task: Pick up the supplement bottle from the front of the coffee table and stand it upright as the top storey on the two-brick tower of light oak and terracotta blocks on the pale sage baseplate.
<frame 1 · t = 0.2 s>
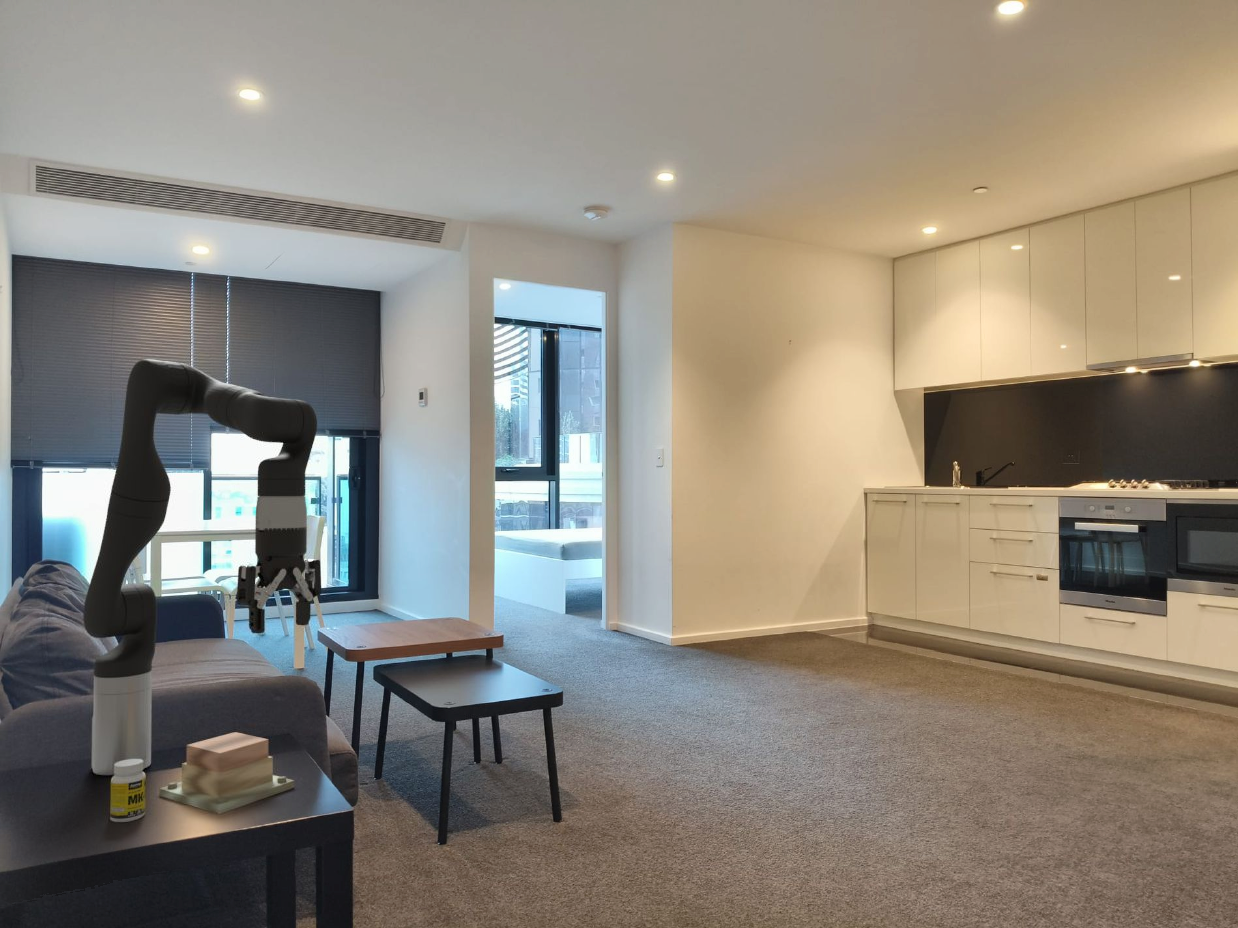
hand: (280, 628, 137), 29 cm above the table, fingers open, 8 cm apart
brick tower: (227, 791, 147), on the table
supplement bottle: (127, 818, 136), on the table
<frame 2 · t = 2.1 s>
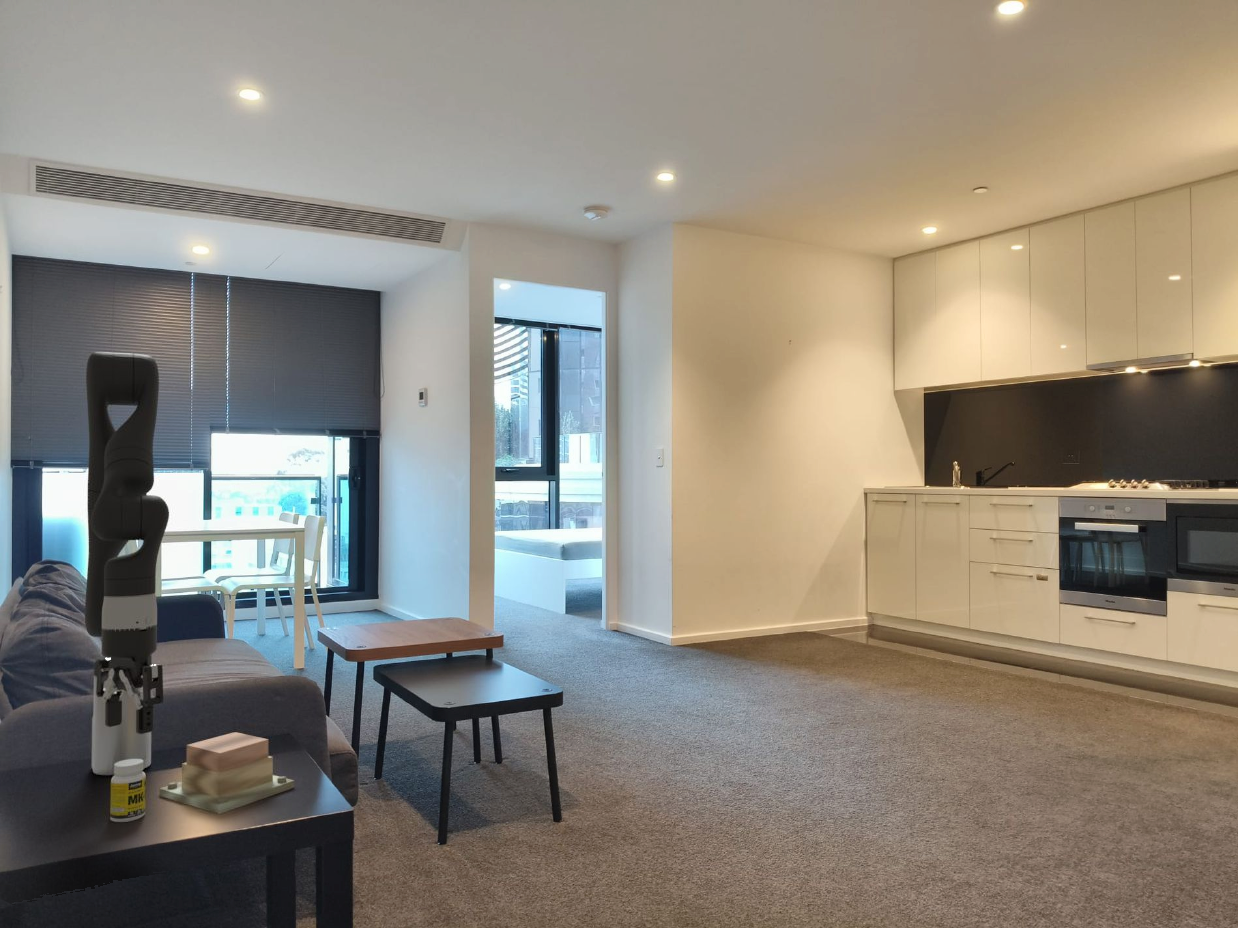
hand: (128, 729, 136), 14 cm above the table, fingers open, 8 cm apart
nothing on the table moved.
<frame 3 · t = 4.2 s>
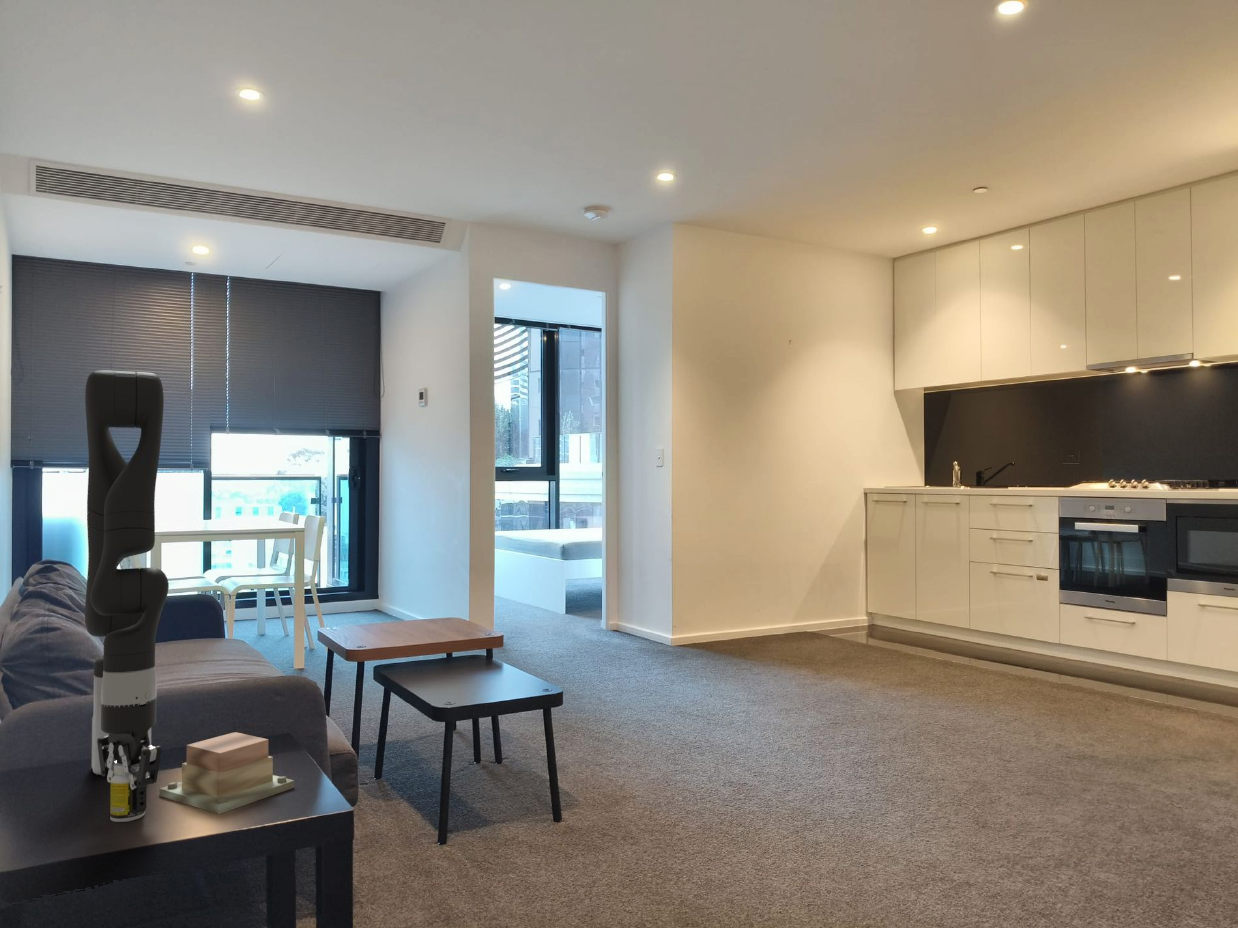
hand: (128, 807, 136), 1 cm above the table, fingers closed on supplement bottle, 4 cm apart
supplement bottle: (127, 818, 136), on the table, touching gripper
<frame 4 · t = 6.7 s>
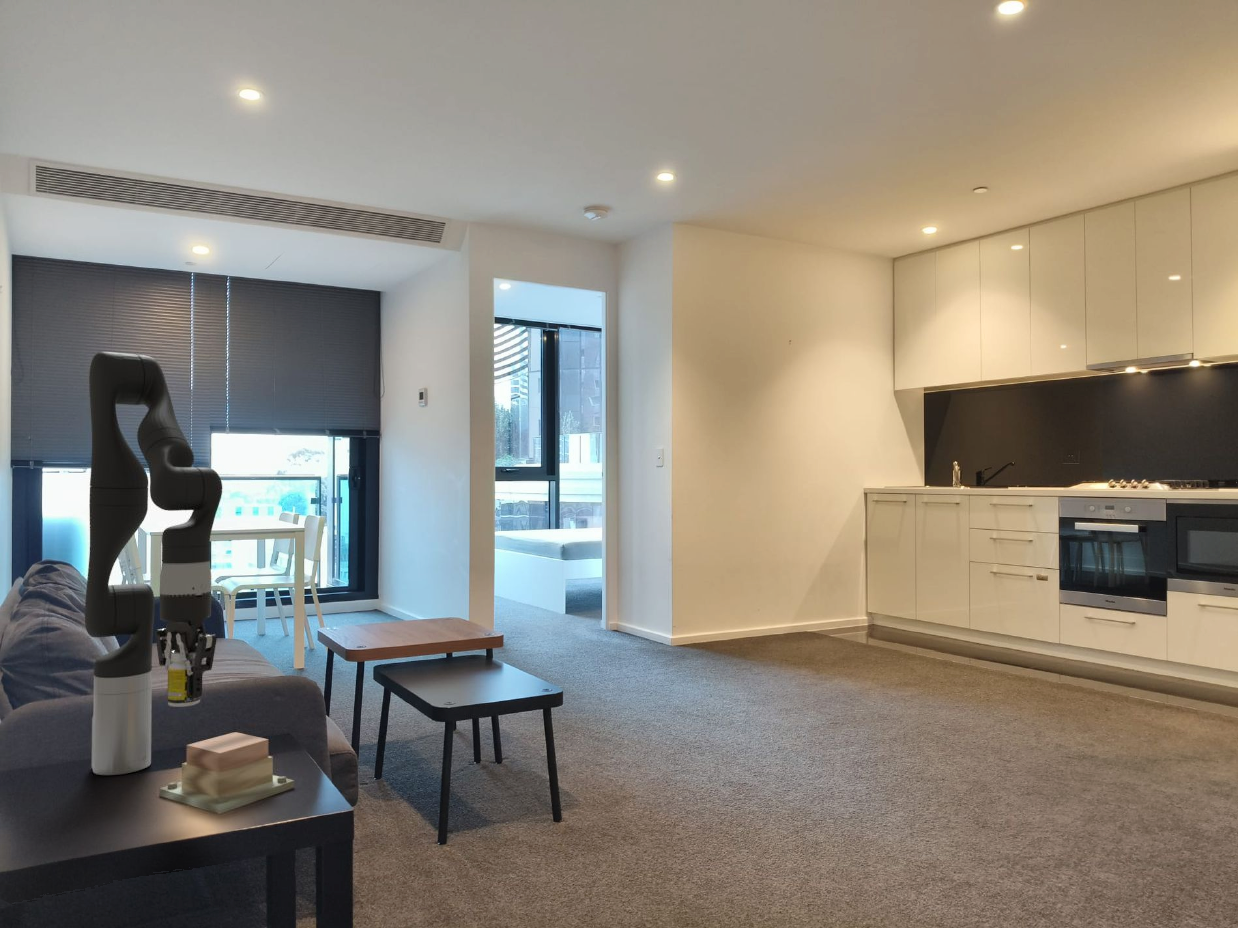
hand: (184, 694, 142), 17 cm above the table, fingers closed on supplement bottle, 4 cm apart
supplement bottle: (184, 704, 142), point 16 cm above the table, touching gripper
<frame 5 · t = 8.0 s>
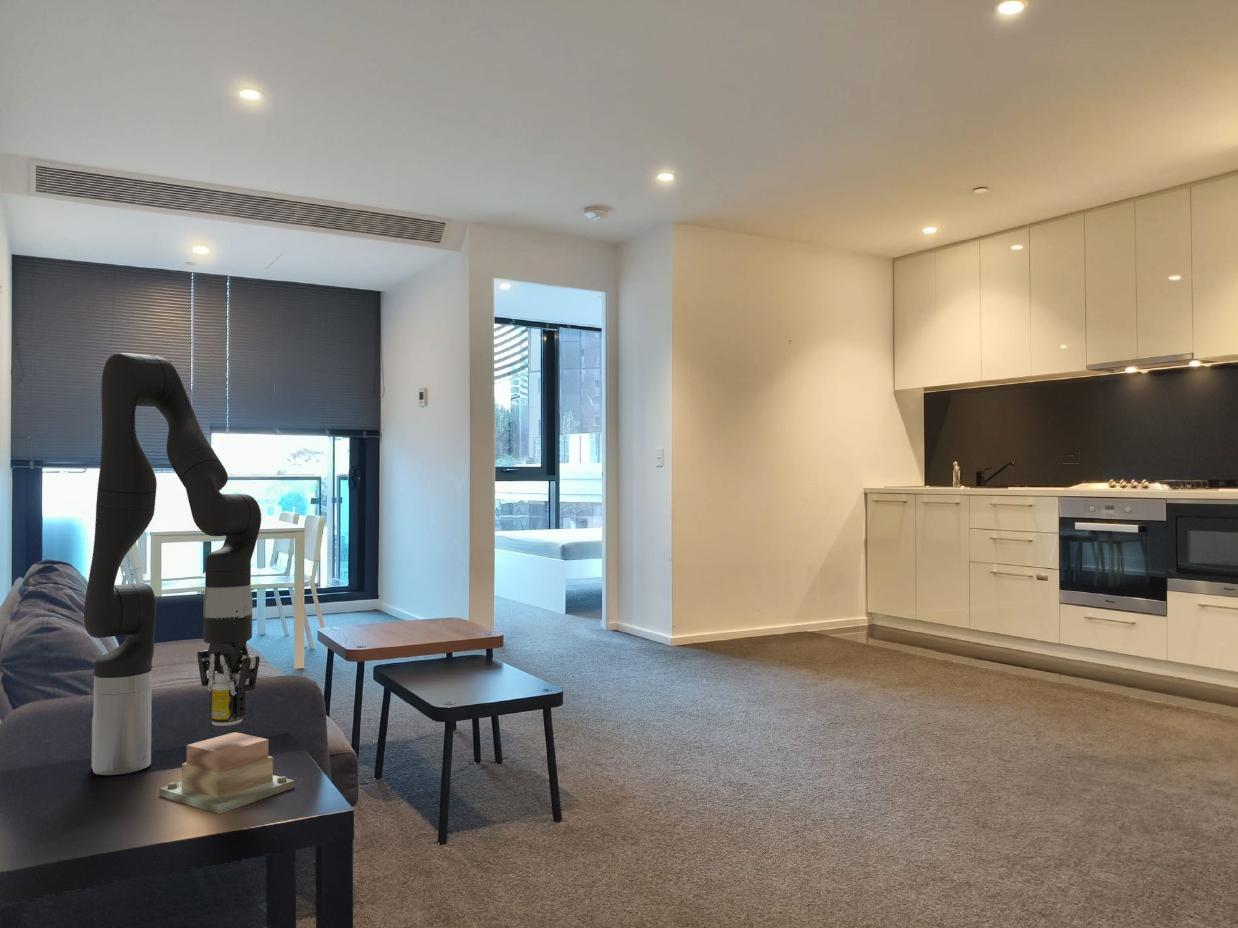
hand: (227, 714, 147), 13 cm above the table, fingers closed on supplement bottle, 4 cm apart
supplement bottle: (227, 723, 147), point 11 cm above the table, touching gripper
when the fingers open (11 cm above the table, at t = 9.2 s): supplement bottle drops 1 cm, resting on brick tower.
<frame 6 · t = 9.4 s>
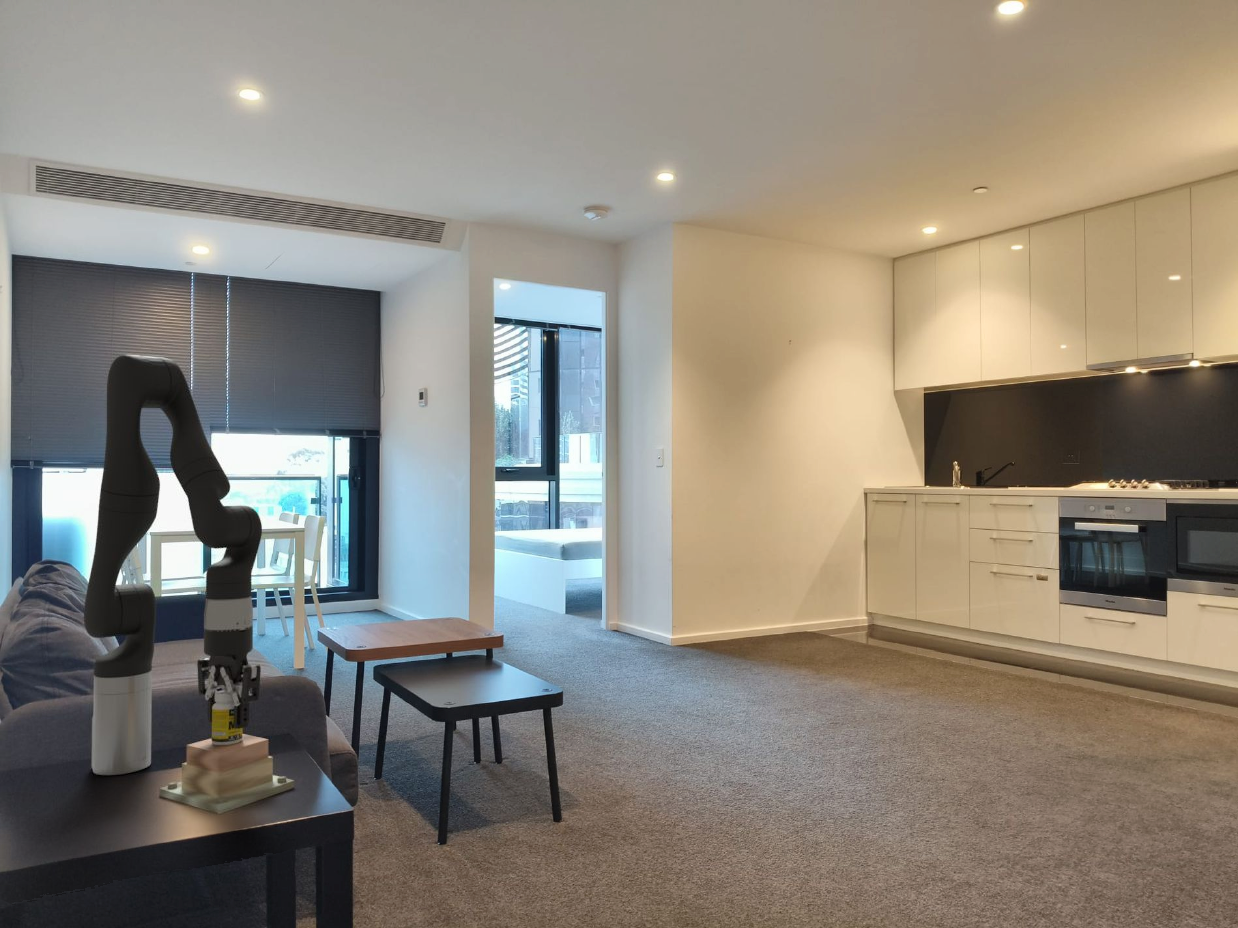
hand: (228, 724, 147), 11 cm above the table, fingers open, 6 cm apart
supplement bottle: (227, 743, 147), point 8 cm above the table, touching brick tower
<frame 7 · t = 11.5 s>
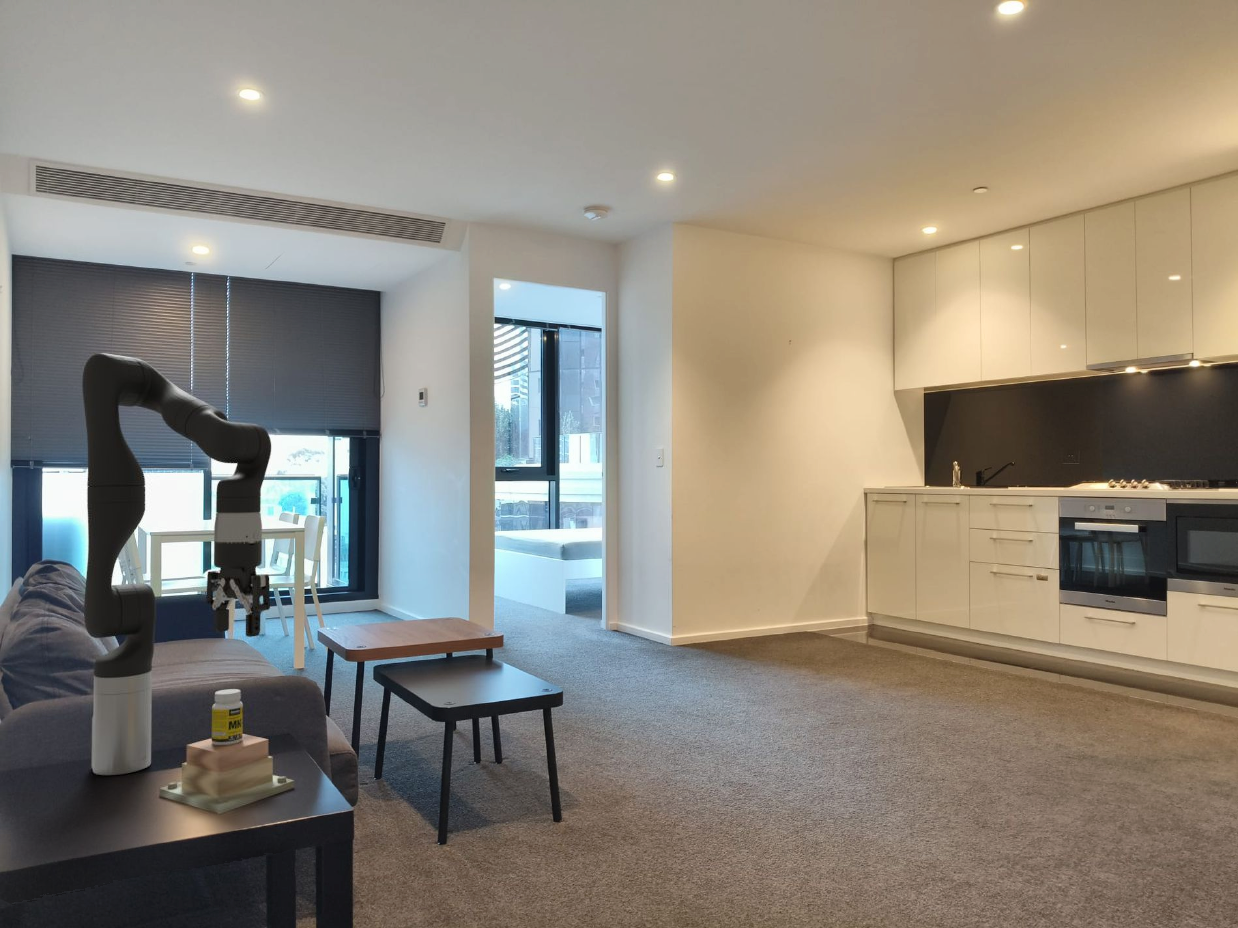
hand: (237, 633, 150), 26 cm above the table, fingers open, 8 cm apart
nothing on the table moved.
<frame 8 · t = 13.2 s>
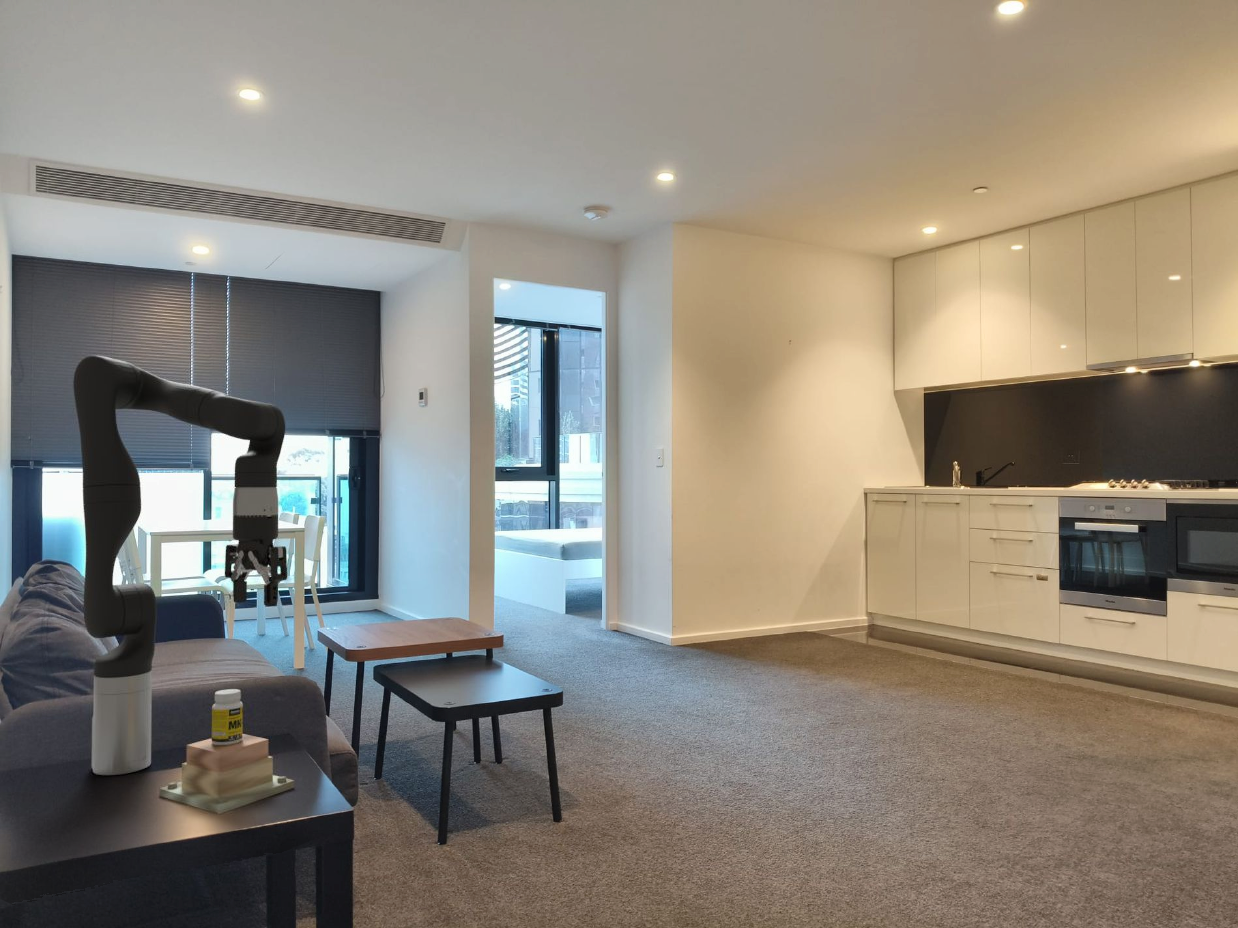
hand: (255, 603, 157), 30 cm above the table, fingers open, 8 cm apart
nothing on the table moved.
at the end: supplement bottle 0.2 cm off-centre on the brick tower, point 8.0 cm above the brick tower's base; supplement bottle tilted 0°; the gripper is holding nothing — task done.
